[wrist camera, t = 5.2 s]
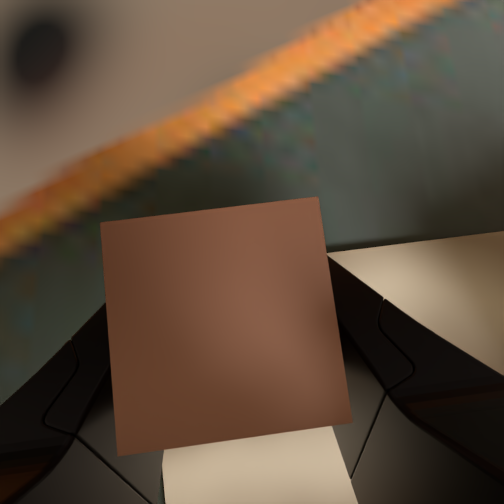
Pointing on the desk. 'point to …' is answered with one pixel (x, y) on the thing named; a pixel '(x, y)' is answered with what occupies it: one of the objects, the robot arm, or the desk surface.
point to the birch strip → (314, 453)
